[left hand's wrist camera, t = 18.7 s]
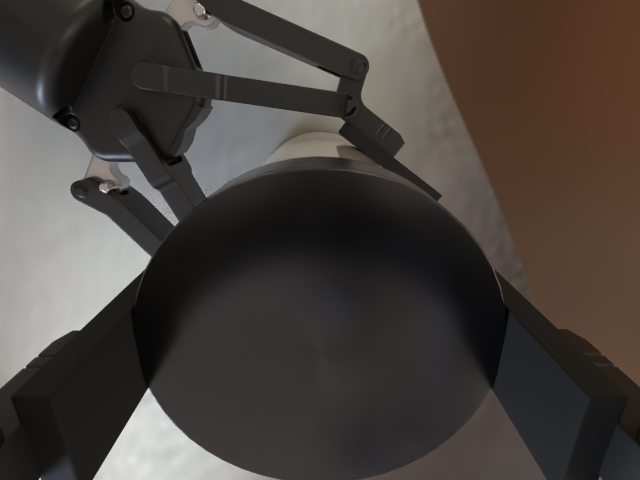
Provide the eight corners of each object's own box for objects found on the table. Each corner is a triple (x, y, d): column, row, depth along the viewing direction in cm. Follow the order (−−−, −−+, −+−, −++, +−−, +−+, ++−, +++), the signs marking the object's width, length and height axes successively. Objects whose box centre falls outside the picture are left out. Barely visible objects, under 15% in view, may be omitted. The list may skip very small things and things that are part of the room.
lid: (299, 468, 15) (296, 525, 13) (97, 290, 12) (52, 328, 10) (531, 333, 12) (571, 377, 10) (350, 75, 10) (359, 68, 8)
